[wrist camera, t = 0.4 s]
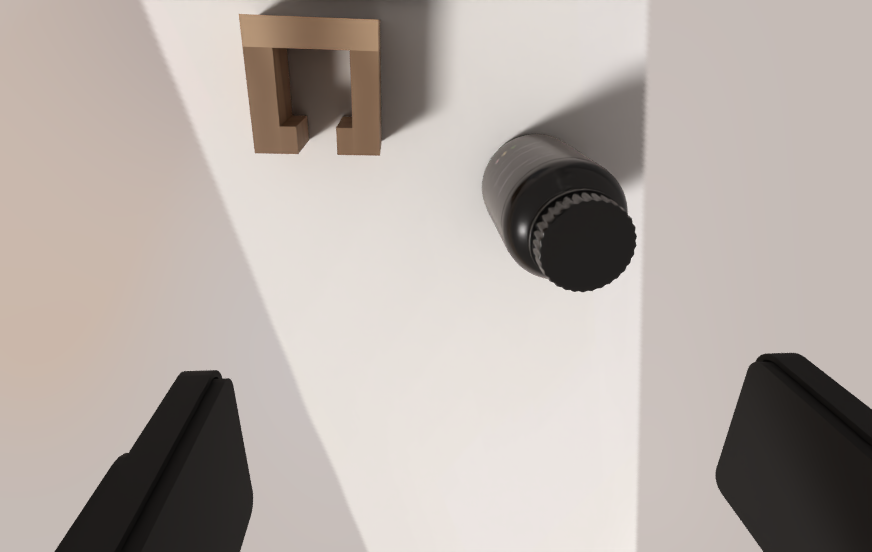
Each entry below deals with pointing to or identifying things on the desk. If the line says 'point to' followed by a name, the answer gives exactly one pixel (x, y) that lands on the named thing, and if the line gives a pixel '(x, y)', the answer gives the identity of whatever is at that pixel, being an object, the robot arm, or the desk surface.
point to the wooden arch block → (272, 83)
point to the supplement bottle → (559, 212)
